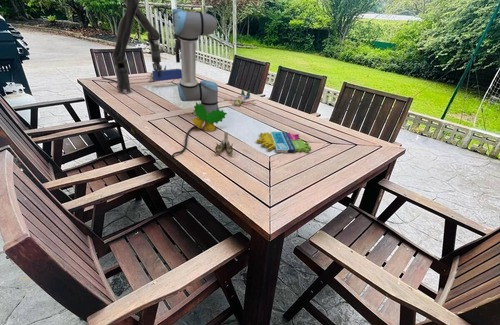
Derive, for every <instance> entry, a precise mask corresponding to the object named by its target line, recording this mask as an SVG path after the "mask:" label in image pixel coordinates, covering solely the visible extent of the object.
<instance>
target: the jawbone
mask: <svg viewBox="0 0 500 325" xmlns="http://www.w3.org/2000/svg"><path fill="white" fill-rule="evenodd" d="M223 135H224V136H223V140H222V139H221V142H220V144H218V142H215V144H216V146H215V148H214V149H215V152H214V154H215V155H217V156H218V155H220V153H221V152H223V151H224V150H226V152H227V153H228V155H229V156H233V155H234V154H233V153H234V148H233V144H234V143H230V140H228V139H229V138H228V137H229V136H228V135H229V133H228V131H226V132H224V134H223Z"/></svg>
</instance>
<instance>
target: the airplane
mask: <svg viewBox="0 0 500 325" xmlns="http://www.w3.org/2000/svg"><path fill="white" fill-rule="evenodd" d="M163 70H167V65H165V66H164V68H163ZM146 74H149V77H151V78H149V79H148V83H152V82H155V81H154V80H153V74H152V72H146Z"/></svg>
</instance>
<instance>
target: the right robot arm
mask: <svg viewBox="0 0 500 325" xmlns="http://www.w3.org/2000/svg"><path fill="white" fill-rule="evenodd" d="M171 15H172V16H171V17H172V18H171V19H172V30H173V39H174V53H175V62H176V64H179V63H181V70H182V79H179V82H178V83H177V84H176V85H177V86H176V87H177V92H178V95H179V99H180V101H181V102H200V104H201V106H204V109H206V112H208V113H211V112H212V110H214V111H216V110H217V109H219V111H221V110H220V108H219V102H218V99H219V98H218V97H219V88H218V84H217V83H216V82H215V81H213V80H205V79H204V80H203V79H202V80H200V81H198V80H197V78H196V72H197V71H196V64H197V62H196V58H197V57H196V55H197V54H196V53H197V52H196V51H197V50H196V46H197V45H196V44H197V43H196V42H197V41H199V37H200V36H201V37H204V36H210V35H212V34H214V32H216V30H217V28H218V21H217V19H216V18H215V16H213V15H212V14H209V13H207V12H197V11H184V10H183V9H181V8H172V9H171ZM208 113H207V115H208ZM196 127H197V126H196V125H195V124H194V126H192V127H191V128H190V129H189V130H188V131H186V132H187V133H186V135H185V140H184V145H183V149H182V150H178V151H175V152H174V153H172V154H171V155H170V159H173V158H174V156H175V155H177V154H182V153H183V152H185V150H186V149H187V145H188V136H189V134H190V132H191V131H192V130H193V129H195V128H196Z"/></svg>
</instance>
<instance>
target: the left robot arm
mask: <svg viewBox="0 0 500 325" xmlns="http://www.w3.org/2000/svg"><path fill="white" fill-rule="evenodd" d="M122 2H123V4H124V5H125V6H126V9H125V13H124V15H123V16H122V17H121V19H120V20H119V22H118V26H117V32H116V42H115V47H114V50H113V52H112V55H111V56H112V59H113V62H114V63H113V64H114V70H115V76H116V80H114V79H112V78H108V77H104V76H101V78H102V79H105V80H108V81H112V82H114V83H116V84H117V85H116V87H117V88H118V93H119V94H130V93H132V90H131V83H130V82H131V81H130V76H129V71H128V62H127V56H126V51H127V47H128V43H129V41H130V39H131V35H132V31H133V26H134V22H135V18H136V19H137V21H138V22H139V24H140V25H141V27H142V28H143V30H144V31H145V32H147V33H146V36H147V41H148V42H149V45H150V55H151V62H152V68H153V71H158V70H159V71H158V77H161V73H160V72H162V70H163V67H162V65H161V62H162V60H161V52H160V45H159V44H158V43H157V42H156V41H159V40H161V35H160V33H159V31H158V30H157V29H156V28H155V27H154V26H153V24H152V23H151V22H150V20H149V19H148V18H147V16H146V15H145V14H144V13H143V11H141V9H140V7H139V6H140V1H139V0H122Z"/></svg>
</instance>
